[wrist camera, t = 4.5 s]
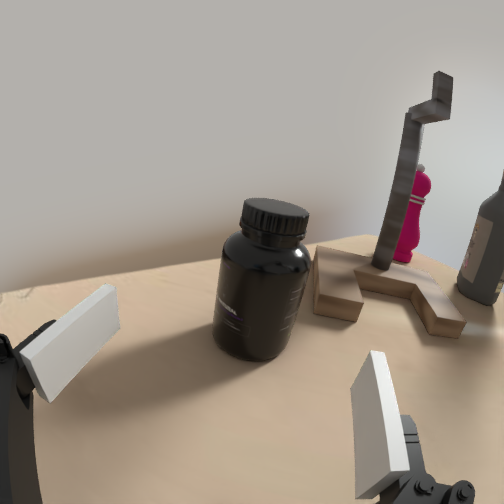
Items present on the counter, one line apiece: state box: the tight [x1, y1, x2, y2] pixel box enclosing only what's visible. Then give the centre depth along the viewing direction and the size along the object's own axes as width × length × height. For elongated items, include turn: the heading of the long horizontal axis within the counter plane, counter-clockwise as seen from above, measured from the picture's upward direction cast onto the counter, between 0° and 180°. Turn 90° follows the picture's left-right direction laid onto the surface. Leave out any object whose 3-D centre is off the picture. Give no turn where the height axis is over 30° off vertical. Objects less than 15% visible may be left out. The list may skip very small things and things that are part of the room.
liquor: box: [457, 172, 504, 306], centre depth 37 cm, size 9×9×30 cm
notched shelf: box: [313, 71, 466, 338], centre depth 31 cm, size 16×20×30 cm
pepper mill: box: [393, 164, 431, 262], centre depth 51 cm, size 7×7×20 cm
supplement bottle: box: [213, 198, 311, 361], centre depth 23 cm, size 7×7×12 cm
